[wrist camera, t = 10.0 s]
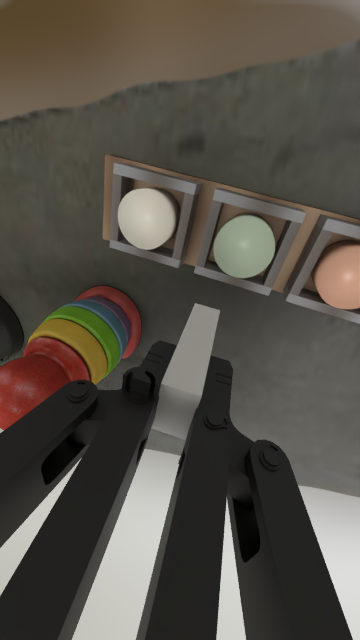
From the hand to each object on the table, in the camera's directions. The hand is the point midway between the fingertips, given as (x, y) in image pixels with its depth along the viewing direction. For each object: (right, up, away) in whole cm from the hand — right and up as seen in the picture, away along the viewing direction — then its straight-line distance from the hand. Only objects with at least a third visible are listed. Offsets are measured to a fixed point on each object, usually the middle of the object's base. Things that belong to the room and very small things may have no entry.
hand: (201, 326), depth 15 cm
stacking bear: (-11, +1, +20) cm, 23 cm away
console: (+5, +9, +10) cm, 14 cm away
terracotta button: (+13, +5, +7) cm, 16 cm away
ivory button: (-4, +11, +9) cm, 15 cm away
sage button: (+5, +8, +8) cm, 12 cm away
